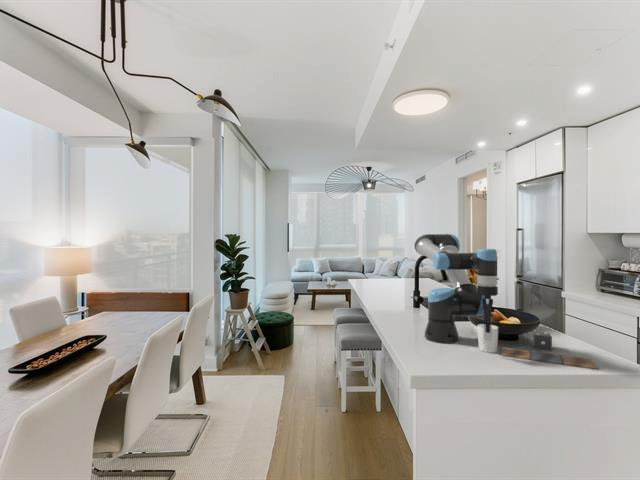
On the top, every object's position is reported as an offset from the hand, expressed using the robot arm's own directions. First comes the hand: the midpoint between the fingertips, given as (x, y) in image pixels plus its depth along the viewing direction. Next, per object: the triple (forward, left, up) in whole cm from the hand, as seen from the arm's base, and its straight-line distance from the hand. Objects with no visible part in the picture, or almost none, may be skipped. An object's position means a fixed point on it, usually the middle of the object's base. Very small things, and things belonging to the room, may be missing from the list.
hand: (488, 335), depth 133 cm
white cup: (0, 0, -6) cm, 6 cm away
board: (+20, 0, -6) cm, 21 cm away
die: (+20, +14, -6) cm, 26 cm away
